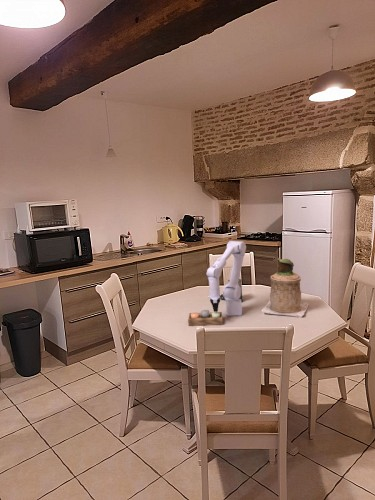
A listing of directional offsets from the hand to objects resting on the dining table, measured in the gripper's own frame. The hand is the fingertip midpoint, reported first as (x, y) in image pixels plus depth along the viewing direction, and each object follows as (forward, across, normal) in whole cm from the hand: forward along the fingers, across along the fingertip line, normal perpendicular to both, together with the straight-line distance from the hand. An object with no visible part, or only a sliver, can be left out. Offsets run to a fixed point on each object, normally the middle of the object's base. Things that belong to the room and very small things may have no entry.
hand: (215, 311), depth 200 cm
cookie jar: (+6, -16, +42) cm, 46 cm away
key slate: (+3, 0, -6) cm, 7 cm away
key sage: (+5, 0, 0) cm, 5 cm away
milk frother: (+6, -38, +10) cm, 40 cm away
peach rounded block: (+5, 0, -12) cm, 13 cm away
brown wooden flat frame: (+6, 0, -6) cm, 8 cm away
